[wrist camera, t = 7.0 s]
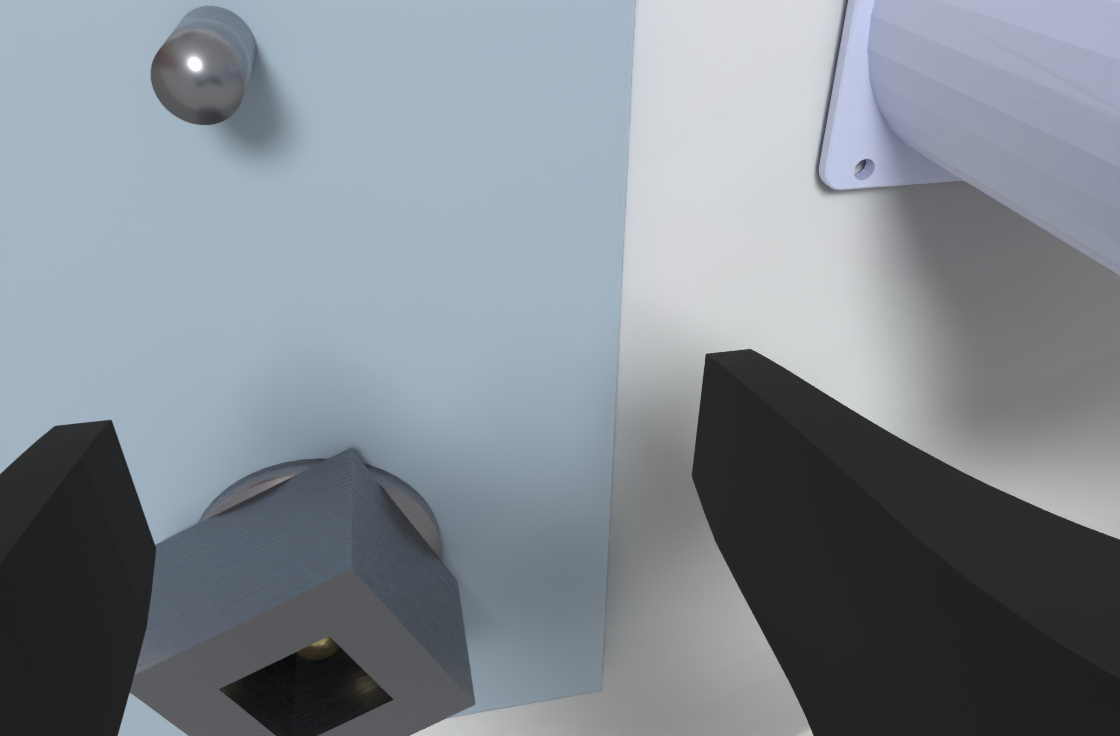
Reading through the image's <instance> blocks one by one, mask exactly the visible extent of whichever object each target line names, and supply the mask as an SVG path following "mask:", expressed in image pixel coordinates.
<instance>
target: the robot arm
mask: <svg viewBox="0 0 1120 736" xmlns="http://www.w3.org/2000/svg"><path fill="white" fill-rule="evenodd" d="M864 159H866V165H865V167H864V169H863V170H862V171H861V172H860V173H857V174H854V169H855V167H856V165H857V164H858V163H859V162H860V161H861V160H864ZM819 176H820V178H821V180H822V181H823V182H824V183H825V184H827V185H828V186H829V187H831V188H832V189H835V190H849V189H862V188H875V187H888V186H901V185H913V184H926V183H939V182H952V181H965V182H967V183H969V184H970V185H972V186H973V187H975V188H977V189H978V190H980V191H982V192H983V193H985V194H987V195H988V196H990V197H991V198H993V199H995V200H996V201H998V202H1000V203H1001V204H1003V205H1004V206H1006V207H1008V208H1009V209H1011V210H1013V211H1014V212H1016V213H1018V214H1019V215H1021V216H1022V217H1024V218H1026V219H1027V220H1029V221H1031V222H1032V223H1034V224H1036V225H1037V226H1039V227H1040V228H1042V229H1044V230H1045V231H1047V232H1049V233H1050V234H1052V235H1054V236H1055V237H1057V238H1058V239H1060V240H1062V241H1063V242H1065V243H1067V244H1068V245H1070V246H1071V247H1073V248H1075V249H1076V250H1078V251H1080V252H1081V253H1083V254H1085V255H1086V256H1088V257H1089V258H1091V259H1093V260H1094V261H1096V262H1098V263H1099V264H1101V265H1103V266H1104V267H1106V268H1107V269H1109V270H1111V271H1112V272H1114V273H1116V274H1117V275H1119V276H1120V0H848V4H847V10H846V16H845V22H844V27H843V33H842V39H841V44H840V50H839V56H838V62H837V67H836V73H835V79H834V84H833V90H832V96H831V101H830V107H829V113H828V119H827V124H826V130H825V136H824V141H823V147H822V153H821V158H820V164H819ZM692 478H693V481H694V484H695V487H696V489H697V492H698V495H699V498H700V501H701V504H702V507H703V510H704V513H705V515H706V518H707V520H708V523H709V526H710V528H711V531H712V534H713V536H714V539H715V541H716V543H717V545H718V547H719V549H720V551H721V553H722V555H723V557H724V559H725V561H726V563H727V565H728V567H729V569H730V571H731V573H732V575H733V577H734V578H735V580H736V582H737V584H738V586H739V588H740V590H741V592H742V594H743V596H744V598H745V599H746V601H747V603H748V605H749V607H750V609H751V611H752V613H753V614H754V616H755V618H756V620H757V622H758V624H759V626H760V628H761V630H762V631H763V633H764V635H765V637H766V639H767V641H768V643H769V645H770V646H771V648H772V650H773V652H774V654H775V656H776V658H777V660H778V662H779V663H780V665H781V667H782V669H783V671H784V673H785V675H786V677H787V678H788V680H789V682H790V684H791V686H792V688H793V691H794V693H795V695H796V697H797V699H798V701H799V703H800V705H801V707H802V709H803V712H804V714H805V716H806V718H807V720H808V723H809V725H810V728H811V730H812V733H813V735H814V736H1120V540H1119V539H1117V538H1114V537H1111V536H1108V535H1106V534H1103V533H1100V532H1098V531H1095V530H1092V529H1090V528H1087V527H1084V526H1082V525H1079V524H1077V523H1074V522H1072V521H1069V520H1067V519H1065V518H1062V517H1060V516H1057V515H1055V514H1052V513H1050V512H1048V511H1045V510H1043V509H1041V508H1038V507H1036V506H1034V505H1032V504H1030V503H1027V502H1025V501H1023V500H1021V499H1018V498H1016V497H1014V496H1012V495H1010V494H1007V493H1005V492H1003V491H1001V490H999V489H996V488H994V487H992V486H990V485H988V484H986V483H983V482H981V481H979V480H977V479H975V478H973V477H971V476H969V475H967V474H965V473H963V472H961V471H959V470H957V469H955V468H954V467H952V466H950V465H948V464H946V463H944V462H942V461H940V460H939V459H937V458H935V457H933V456H931V455H929V454H927V453H925V452H924V451H922V450H920V449H918V448H916V447H914V446H912V445H911V444H909V443H907V442H905V441H904V440H902V439H900V438H898V437H897V436H895V435H893V434H891V433H890V432H888V431H886V430H884V429H883V428H881V427H879V426H878V425H876V424H874V423H873V422H871V421H869V420H868V419H866V418H864V417H863V416H861V415H859V414H858V413H856V412H854V411H853V410H851V409H849V408H848V407H846V406H844V405H843V404H841V403H840V402H838V401H836V400H835V399H833V398H831V397H830V396H828V395H827V394H825V393H823V392H822V391H820V390H819V389H817V388H815V387H814V386H812V385H811V384H809V383H807V382H806V381H804V380H803V379H801V378H799V377H798V376H796V375H795V374H793V373H791V372H790V371H788V370H786V369H785V368H783V367H782V366H780V365H778V364H777V363H775V362H773V361H771V360H770V359H768V358H766V357H764V356H763V355H761V354H759V353H757V352H755V351H753V350H751V349H746V350H737V351H728V352H719V353H710V354H706V358H705V366H704V375H703V384H702V392H701V401H700V410H699V418H698V427H697V436H696V444H695V453H694V462H693V470H692ZM155 557H156V546H155V543H154V540H153V538H152V535H151V532H150V529H149V526H148V523H147V520H146V517H145V515H144V512H143V509H142V506H141V503H140V500H139V497H138V494H137V491H136V489H135V486H134V483H133V480H132V477H131V474H130V471H129V468H128V466H127V463H126V460H125V457H124V454H123V451H122V448H121V445H120V442H119V440H118V437H117V434H116V431H115V428H114V425H113V422H112V420H103V421H94V422H85V423H76V424H67V425H58V426H54V427H53V428H51V429H50V430H49V431H48V432H47V433H45V434H44V435H43V436H42V437H40V438H39V439H38V440H37V441H36V442H35V443H34V444H32V445H31V446H30V447H29V448H28V449H27V450H26V451H25V452H23V453H22V454H21V455H20V456H19V457H18V458H17V459H16V460H15V461H14V462H13V463H11V464H10V465H9V466H8V467H7V468H6V469H5V470H4V471H3V472H2V473H1V474H0V736H118V733H119V730H120V726H121V722H122V719H123V715H124V711H125V708H126V704H127V700H128V697H129V693H130V689H131V686H132V682H133V678H134V674H135V671H136V667H137V663H138V659H139V655H140V652H141V648H142V644H143V640H144V636H145V632H146V628H147V622H148V615H149V608H150V600H151V593H152V584H153V575H154V566H155Z"/></svg>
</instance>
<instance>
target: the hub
mask: <svg viewBox="0 0 1120 736" xmlns="http://www.w3.org/2000/svg"><path fill="white" fill-rule="evenodd" d="M325 460H327V459H325V458H316V459H302V460H296V461H290V462H284V463H280V464H277V465H273V466H270V467H266V468H264V469H261V470H259V471H256V472H254V473H251V474H250V475H248V476H246V477H244V478H242V479H240V480H238V481H237V482H235V483H234V484H232V485H231V486H229V487H228V488H227V489H225V490H224V491H223V492H222V493H221V494H219V495H218V496H217V497H216V498H215V499H214V500H213V501H212V502H211V504H210V505H209V506H208V507H207V508H206V510H205V511H204V512H203V514H202V516H201V518H200V519H199V521H198V523H200V522H202V521H204V520H206V519H208V518H210V517H212V516H214V515H216V514H218V513H220V512H222V511H224V510H226V509H228V508H230V507H232V506H234V505H236V504H238V503H240V502H242V501H245V500H247V499H249V498H251V497H253V496H255V495H257V494H259V493H261V492H263V491H265V490H267V489H269V488H271V487H273V486H275V485H277V484H279V483H281V482H283V481H285V480H287V479H289V478H291V477H293V476H295V475H297V474H299V473H301V472H303V471H305V470H307V469H309V468H311V467H313V466H315V465H317V464H319V463H321V462H323V461H325ZM364 465H365V466H366V467H367V469H368V470H369V471H370V472H371V474H372V475H373V476H374V477H375V479H376V480H377V481H378V482H379V484H380V485H381V486H382V487H383V489H384V490H385V491H386V492H387V493H388V495H389V496H390V497H391V498H392V500H393V501H394V502H395V503H396V505H397V506H398V507H399V508H400V510H401V511H402V512H403V513H404V515H405V516H406V517H407V518H408V520H409V521H410V522H411V523H412V525H413V526H414V527H415V528H416V530H417V531H418V532H419V533H420V534H421V536H422V537H423V538H424V539H425V541H426V542H427V543H428V544H429V546H430V547H431V548H432V549H433V551H434V552H435V553H436V554H437V556H438V557H439V558H440V559H441V561H442V545H441V538H440V532H439V527H438V523H437V521H436V518H435V515H434V513H433V511H432V510H431V508H430V506H429V505H428V503H427V502H426V501H425V500H424V498H423V497H422V496H421V495H420V494H419V493H418V492H417V491H416V490H415V489H414V488H412V487H411V486H410V485H409V484H407V483H406V482H404V481H403V480H401V479H400V478H398V477H397V476H395V475H393V474H391V473H389V472H387V471H385V470H382V469H379V468H376V467H374V466H371V465H368V464H364ZM198 523H197V524H198ZM338 646H339V645H338V644H337V643H336V642H335V641H334V640H333V639H332V638H331V637H330V636H328V637H326V638H324V639H322V640H320V641H318V642H316V643H314V644H312V645H310V646H308V647H306V648H303V649H301V650H299V651H297V653H298V655H300V656H301V657H303V658H305V659H309V660H321V659H325V658H327V657H330V656H331V655H333V654H334V653H335V652H336V651H337V649H338Z"/></svg>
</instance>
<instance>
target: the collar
mask: <svg viewBox="0 0 1120 736" xmlns="http://www.w3.org/2000/svg"><path fill="white" fill-rule="evenodd" d="M155 546H156V557H155V566H154V575H153V584H152V593H151V600H150V608H149V615H148V622H147V628H146V632H145V636H144V640H143V644H142V648H141V652H140V655H139V659H138V663H137V667H136V671H135V674H134V678H133V682H132V686H131V689H130V693H131V694H133V695H134V696H135V697H137V698H138V699H139V700H141V701H142V702H143V703H145V704H146V705H147V706H149V707H150V708H151V709H153V710H154V711H155V712H157V713H158V714H160V715H161V716H162V717H164V718H165V719H166V720H168V721H169V722H170V723H172V724H173V725H174V726H176V727H177V728H178V729H180V730H181V731H183V732H184V733H185V734H187V735H188V736H410V735H412V734H414V733H416V732H418V731H420V730H423V729H425V728H427V727H429V726H431V725H433V724H435V723H437V722H440V721H442V720H444V719H446V718H448V717H450V716H452V715H455V714H457V713H459V712H461V711H463V710H465V709H467V708H469V707H472V706H474V705H476V703H475V697H474V690H473V683H472V676H471V669H470V662H469V655H468V649H467V642H466V635H465V628H464V621H463V614H462V607H461V601H460V594H459V587H458V580H457V579H456V578H455V577H454V575H453V574H452V573H451V572H450V570H449V569H448V568H447V567H446V566H445V564H444V563H443V562H442V561H441V559H440V558H439V557H438V556H437V554H436V553H435V552H434V551H433V549H432V548H431V547H430V546H429V544H428V543H427V542H426V541H425V539H424V538H423V537H422V536H421V534H420V533H419V532H418V531H417V530H416V528H415V527H414V526H413V525H412V523H411V522H410V521H409V520H408V518H407V517H406V516H405V515H404V513H403V512H402V511H401V510H400V508H399V507H398V506H397V505H396V503H395V502H394V501H393V500H392V498H391V497H390V496H389V495H388V493H387V492H386V491H385V490H384V489H383V487H382V486H381V485H380V484H379V482H378V481H377V480H376V479H375V477H374V476H373V475H372V474H371V472H370V471H369V470H368V469H367V467H366V466H365V465H364V464H363V462H362V461H361V460H360V459H359V457H358V456H357V455H356V454H355V452H354V451H353V450H352V449H351V448H349V449H347V450H345V451H343V452H341V453H339V454H337V455H335V456H333V457H331V458H329V459H327V460H325V461H323V462H321V463H319V464H317V465H315V466H313V467H311V468H309V469H307V470H305V471H303V472H301V473H299V474H297V475H295V476H293V477H291V478H289V479H287V480H285V481H283V482H281V483H279V484H277V485H275V486H273V487H271V488H269V489H267V490H265V491H263V492H261V493H259V494H257V495H255V496H253V497H251V498H249V499H247V500H245V501H242V502H240V503H238V504H236V505H234V506H232V507H230V508H228V509H226V510H224V511H222V512H220V513H218V514H216V515H214V516H212V517H210V518H208V519H206V520H204V521H202V522H200V523H198V524H196V525H194V526H192V527H190V528H188V529H186V530H184V531H182V532H180V533H178V534H176V535H174V536H172V537H170V538H168V539H166V540H164V541H162V542H160V543H158V544H156V545H155ZM328 636H330V637H331V638H332V639H333V640H334V641H335V642H336V643H337V644H338V645H339V646H338V649H337V651H336V652H335V653H334V654H333V655H331V656H330V657H327V658H325V659H321V660H309V659H305V658H303V657H301V656H300V655H298V653H297V651H299V650H301V649H303V648H306V647H308V646H310V645H312V644H314V643H316V642H318V641H320V640H322V639H324V638H326V637H328Z"/></svg>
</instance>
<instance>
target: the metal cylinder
mask: <svg viewBox="0 0 1120 736" xmlns="http://www.w3.org/2000/svg"><path fill="white" fill-rule="evenodd" d="M256 55H257V48H256V42H255V39H254V36H253V34H252V32H251V30H250V28H249V27H248V25H247V24H246V23H245V22H244V21H243V20H242V19H241V18H240V17H239V16H238V15H236V14H235V13H233V12H231V11H230V10H227V9H225V8H222V7H218V6H202V7H198V8H196V9H193V10H191V11H190V12H188V13H187V14H186V15H185V16H184V17H183V18H182V20H181V21H180V22H179V24H178V25H177V26H176V28H175V29H174V30H173V32H172V33H171V34H170V36H169V37H168V38H167V40H166V41H165V42H164V44H163V45H162V46H161V48H160V49H159V50H158V52H157V53H156V55H155V57H154V59H153V61H152V65H151V72H150V74H151V83H152V87H153V90H154V92H155V94H156V96H157V98H158V100H159V101H160V102H161V104H162V105H163V106H164V107H165V108H166V109H167V110H168V111H169V112H170V113H171V114H173V115H174V116H176V117H177V118H179V119H181V120H183V121H186V122H188V123H192V124H196V125H213V124H217V123H220V122H223V121H225V120H226V119H228V118H229V117H231V116H232V115H233V114H234V113H235V112H236V111H237V109H238V108H239V106H240V104H241V102H242V99H243V96H244V93H245V90H246V87H247V84H248V81H249V78H250V75H251V73H252V70H253V67H254V64H255V60H256Z"/></svg>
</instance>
